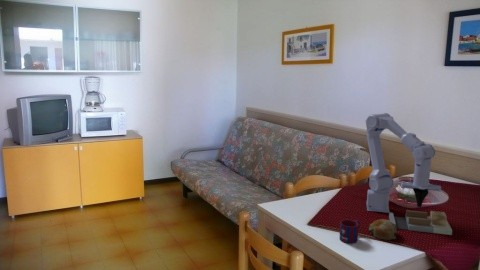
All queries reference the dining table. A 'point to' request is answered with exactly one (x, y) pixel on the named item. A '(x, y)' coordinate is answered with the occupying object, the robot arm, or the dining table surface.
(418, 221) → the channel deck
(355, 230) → the mug
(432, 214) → the wooden block
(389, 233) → the bread roll
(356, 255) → the dining table surface
